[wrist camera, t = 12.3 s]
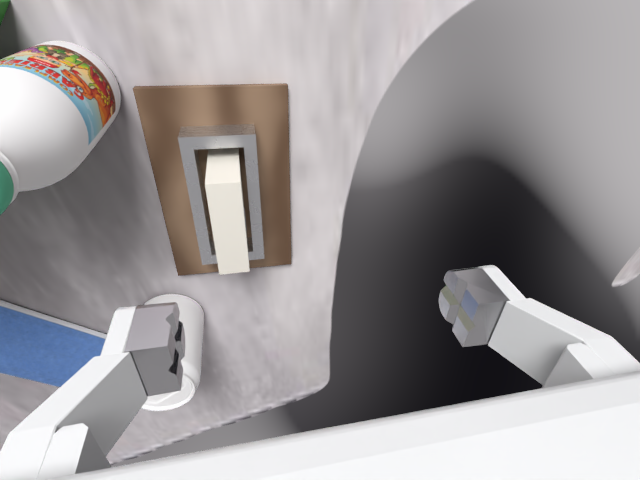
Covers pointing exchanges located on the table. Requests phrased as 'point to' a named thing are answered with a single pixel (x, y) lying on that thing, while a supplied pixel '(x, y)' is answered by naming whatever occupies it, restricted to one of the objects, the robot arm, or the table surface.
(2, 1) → the hardback book
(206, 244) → the bottom track
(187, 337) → the beverage can
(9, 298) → the table surface
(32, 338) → the tablet computer
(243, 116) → the track board
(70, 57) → the milk bottle
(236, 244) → the door panel
